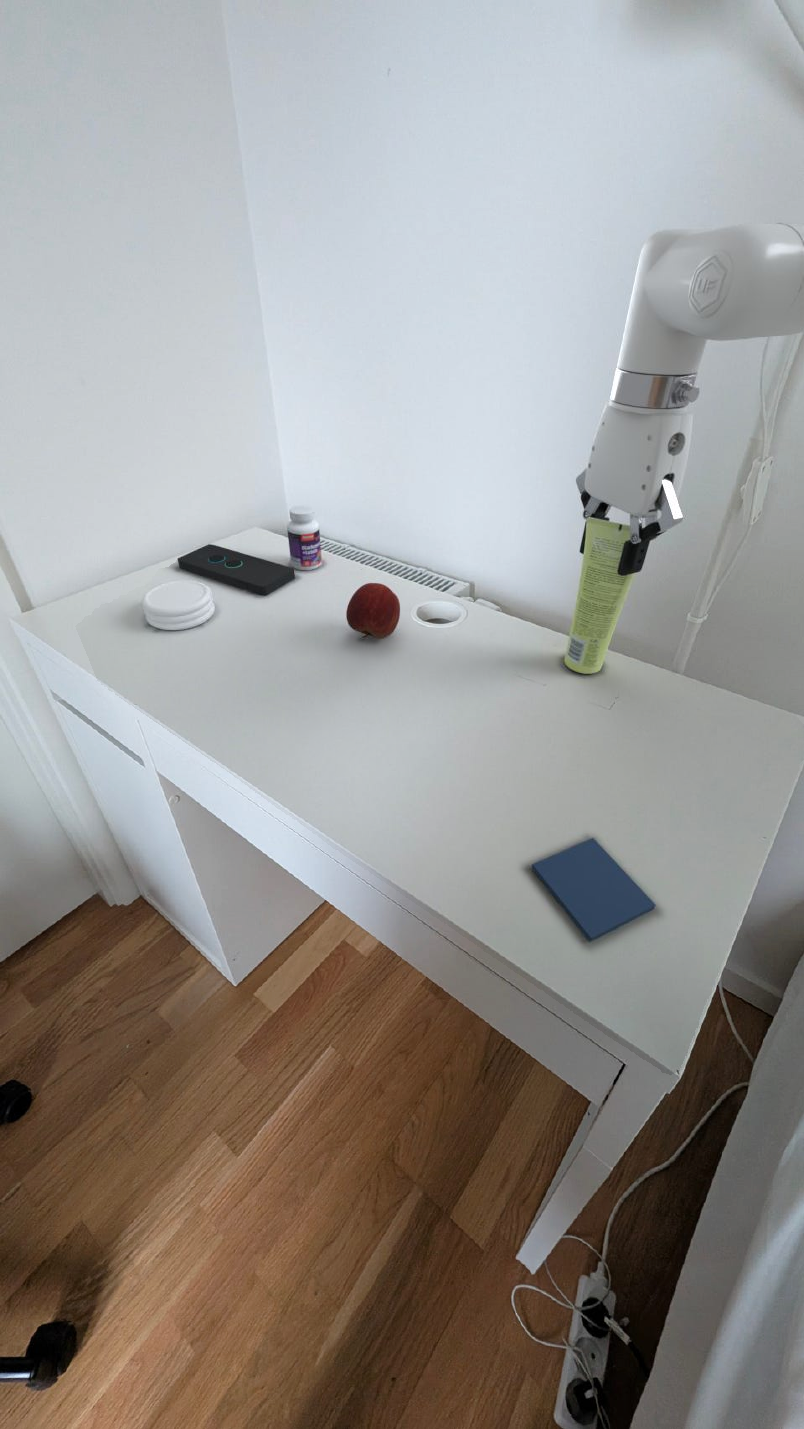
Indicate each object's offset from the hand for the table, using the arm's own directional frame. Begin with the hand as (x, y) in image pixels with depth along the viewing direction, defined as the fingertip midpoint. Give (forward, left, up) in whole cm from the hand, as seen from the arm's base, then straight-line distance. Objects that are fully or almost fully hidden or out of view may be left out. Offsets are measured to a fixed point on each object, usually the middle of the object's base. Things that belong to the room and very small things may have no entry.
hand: (609, 560), depth 69 cm
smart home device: (+48, +36, -15) cm, 62 cm away
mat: (-28, +23, -15) cm, 39 cm away
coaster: (+37, +47, -15) cm, 61 cm away
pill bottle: (+46, +24, -15) cm, 54 cm away
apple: (+19, +23, -15) cm, 33 cm away
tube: (0, 0, -15) cm, 15 cm away
